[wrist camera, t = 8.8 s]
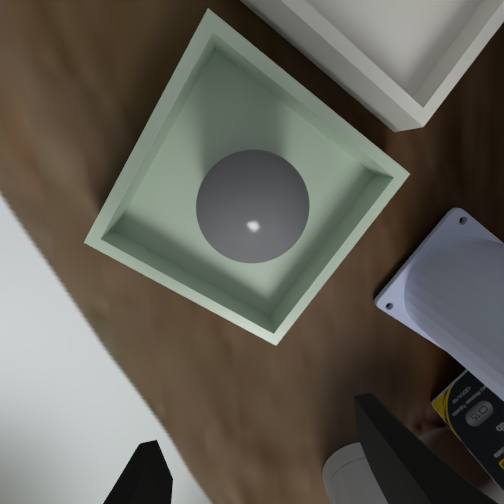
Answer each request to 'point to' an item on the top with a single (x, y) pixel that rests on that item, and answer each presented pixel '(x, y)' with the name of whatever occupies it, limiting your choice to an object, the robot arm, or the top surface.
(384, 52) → the bin
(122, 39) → the top surface
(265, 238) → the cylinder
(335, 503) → the cup
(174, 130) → the bin
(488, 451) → the medicine bottle
